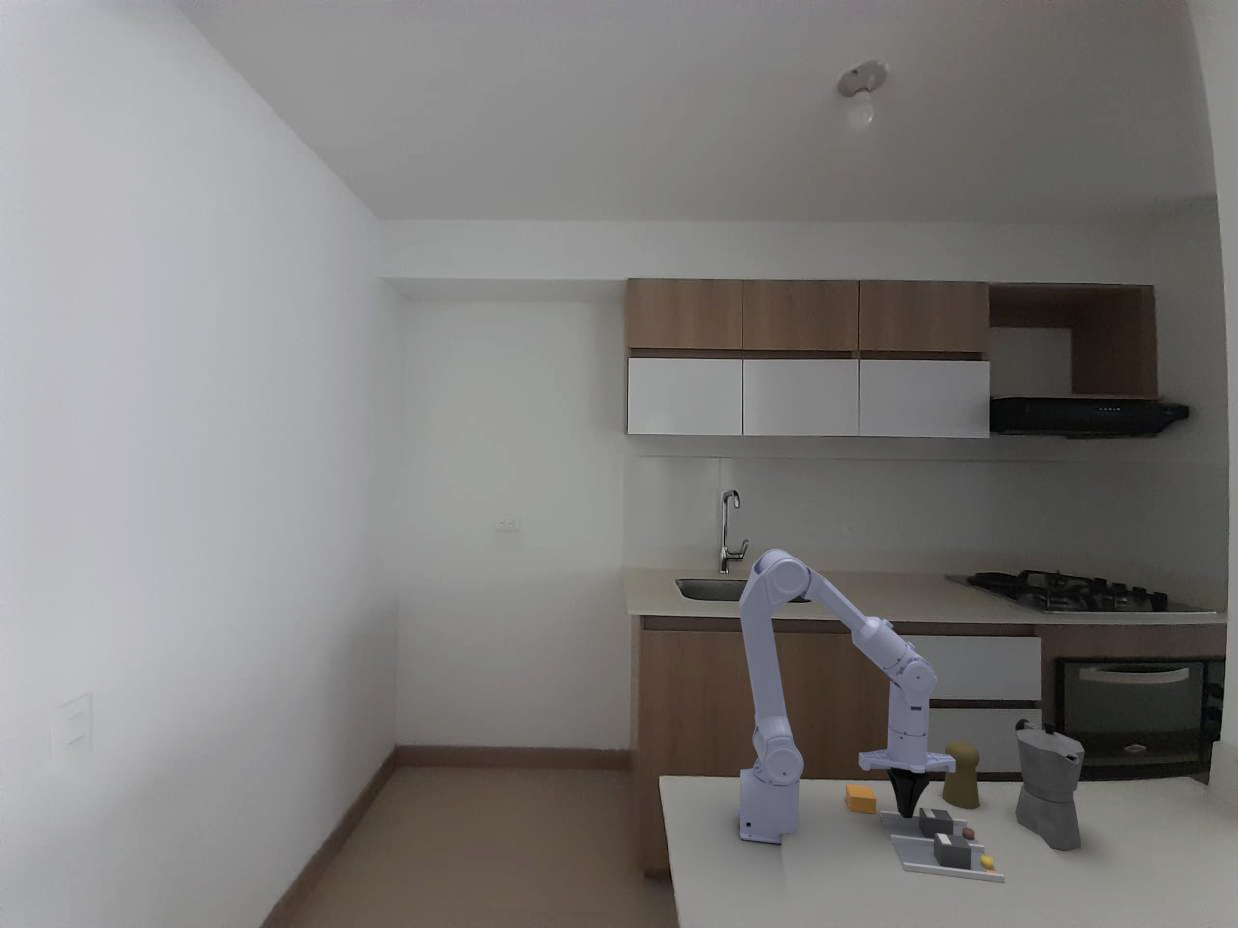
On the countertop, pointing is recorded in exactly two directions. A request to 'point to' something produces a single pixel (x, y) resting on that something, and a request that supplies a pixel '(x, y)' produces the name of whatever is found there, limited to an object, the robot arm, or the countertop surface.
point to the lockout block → (860, 799)
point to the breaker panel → (920, 850)
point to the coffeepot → (1049, 784)
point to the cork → (962, 776)
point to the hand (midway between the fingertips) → (905, 814)
